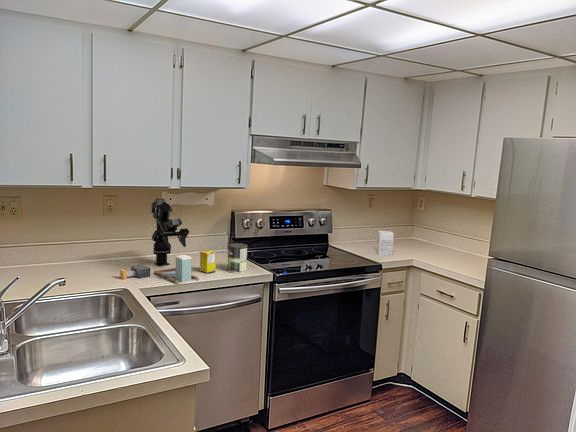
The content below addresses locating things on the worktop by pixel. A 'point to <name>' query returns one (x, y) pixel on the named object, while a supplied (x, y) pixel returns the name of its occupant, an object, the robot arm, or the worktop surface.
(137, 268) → the reset housing
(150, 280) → the worktop surface
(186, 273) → the pale teal box
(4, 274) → the worktop surface
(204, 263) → the supplement box
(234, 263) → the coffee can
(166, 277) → the track
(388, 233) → the supplement box
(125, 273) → the plunger
